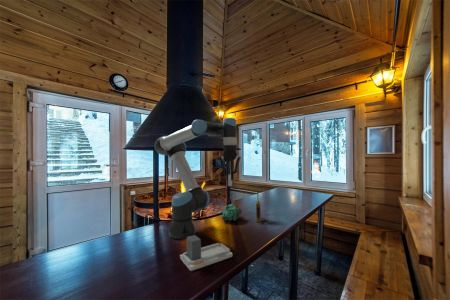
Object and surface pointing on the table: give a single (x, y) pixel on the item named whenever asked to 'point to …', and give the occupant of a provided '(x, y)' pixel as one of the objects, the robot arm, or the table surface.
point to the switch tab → (193, 247)
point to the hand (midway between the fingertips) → (230, 185)
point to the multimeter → (258, 211)
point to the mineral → (231, 213)
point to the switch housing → (207, 256)
